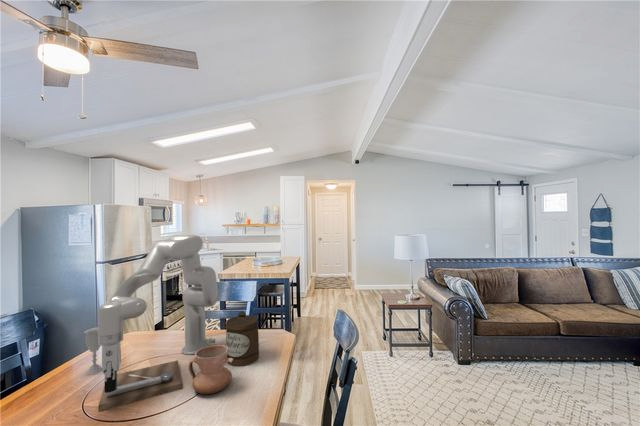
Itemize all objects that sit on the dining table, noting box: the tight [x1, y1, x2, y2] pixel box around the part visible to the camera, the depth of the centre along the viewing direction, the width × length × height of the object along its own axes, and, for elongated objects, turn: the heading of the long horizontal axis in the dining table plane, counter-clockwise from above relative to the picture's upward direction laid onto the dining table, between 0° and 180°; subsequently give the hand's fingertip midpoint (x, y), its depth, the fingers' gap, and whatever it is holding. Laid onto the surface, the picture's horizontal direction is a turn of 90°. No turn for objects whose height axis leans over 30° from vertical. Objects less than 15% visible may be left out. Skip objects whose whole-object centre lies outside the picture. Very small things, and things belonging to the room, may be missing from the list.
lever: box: [107, 369, 173, 396], centre depth 111 cm, size 22×4×8 cm, turn 120°
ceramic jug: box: [188, 344, 233, 395], centre depth 114 cm, size 18×14×14 cm
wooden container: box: [225, 310, 260, 367], centre depth 137 cm, size 15×15×22 cm
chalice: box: [83, 326, 102, 376], centre depth 128 cm, size 7×7×18 cm
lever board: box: [97, 359, 183, 412], centre depth 116 cm, size 26×22×2 cm
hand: (110, 387), depth 106 cm, fingers closed on lever, 3 cm apart
